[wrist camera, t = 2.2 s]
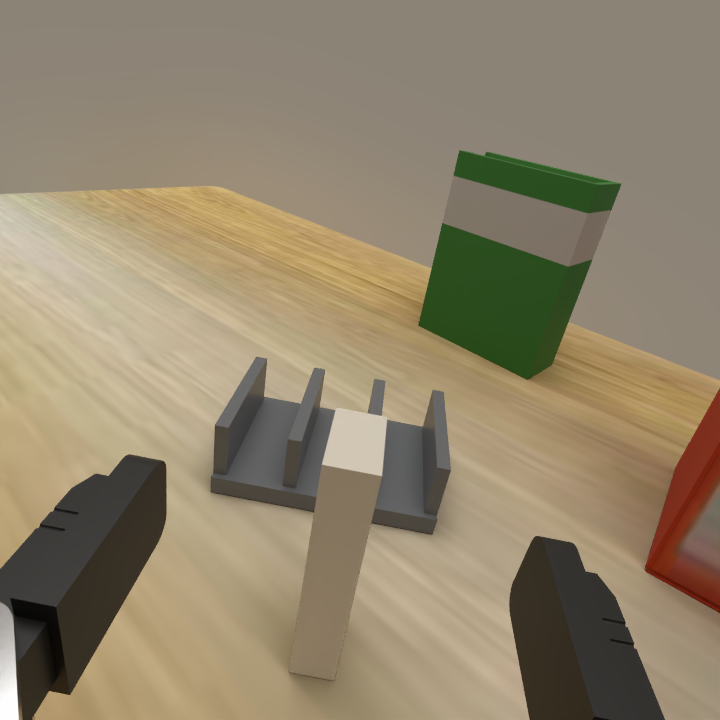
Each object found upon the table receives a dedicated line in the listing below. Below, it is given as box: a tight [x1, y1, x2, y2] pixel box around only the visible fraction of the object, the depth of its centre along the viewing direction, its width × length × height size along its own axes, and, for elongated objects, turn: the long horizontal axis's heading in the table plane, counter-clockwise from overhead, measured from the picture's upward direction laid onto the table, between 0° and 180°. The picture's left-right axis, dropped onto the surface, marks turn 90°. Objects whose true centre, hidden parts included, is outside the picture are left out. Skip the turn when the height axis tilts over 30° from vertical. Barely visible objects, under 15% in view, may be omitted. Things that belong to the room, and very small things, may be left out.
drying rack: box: [211, 357, 451, 534], centre depth 44 cm, size 12×17×6 cm
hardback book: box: [418, 151, 621, 380], centre depth 67 cm, size 18×7×24 cm, turn 47°
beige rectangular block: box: [289, 408, 387, 681], centre depth 27 cm, size 4×3×15 cm, turn 175°
